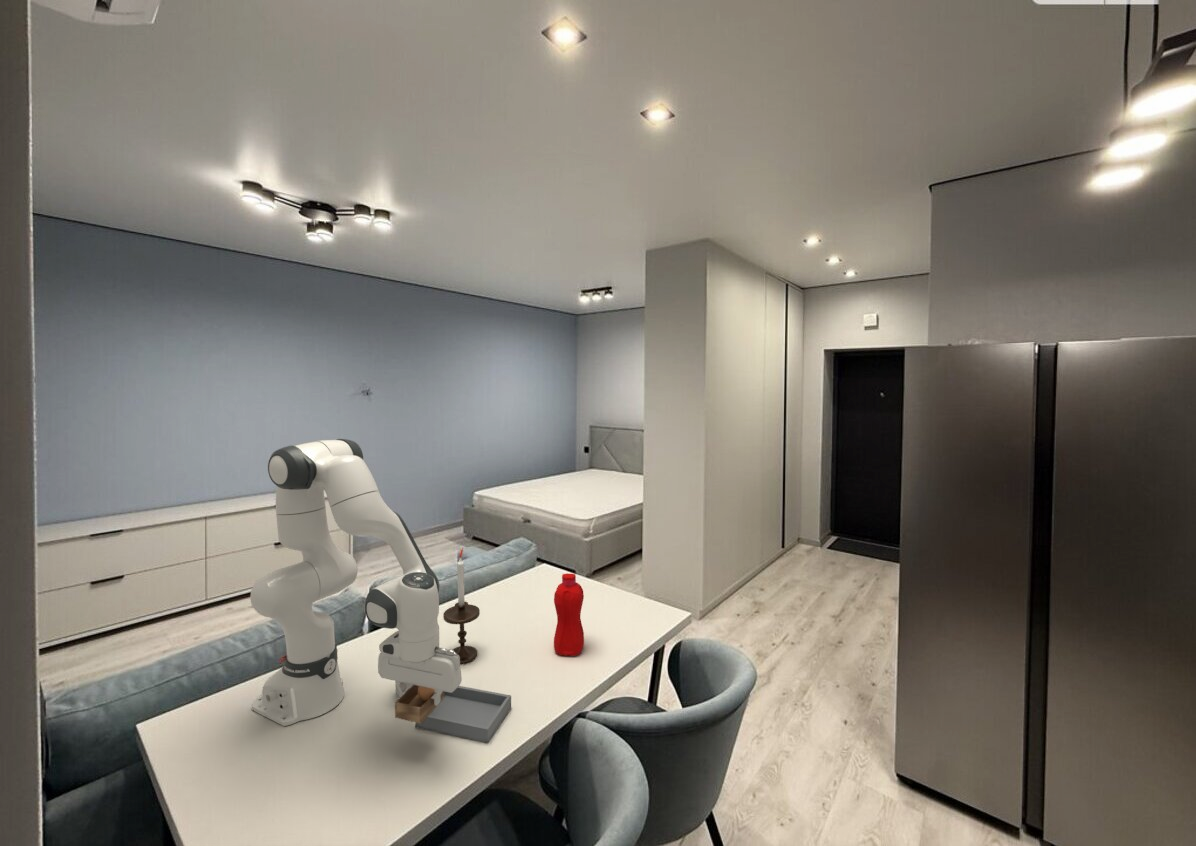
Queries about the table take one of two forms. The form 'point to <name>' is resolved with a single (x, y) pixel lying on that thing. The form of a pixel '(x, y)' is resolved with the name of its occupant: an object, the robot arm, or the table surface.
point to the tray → (468, 714)
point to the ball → (425, 692)
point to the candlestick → (462, 618)
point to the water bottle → (568, 617)
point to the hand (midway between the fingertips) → (420, 700)
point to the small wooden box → (414, 706)
